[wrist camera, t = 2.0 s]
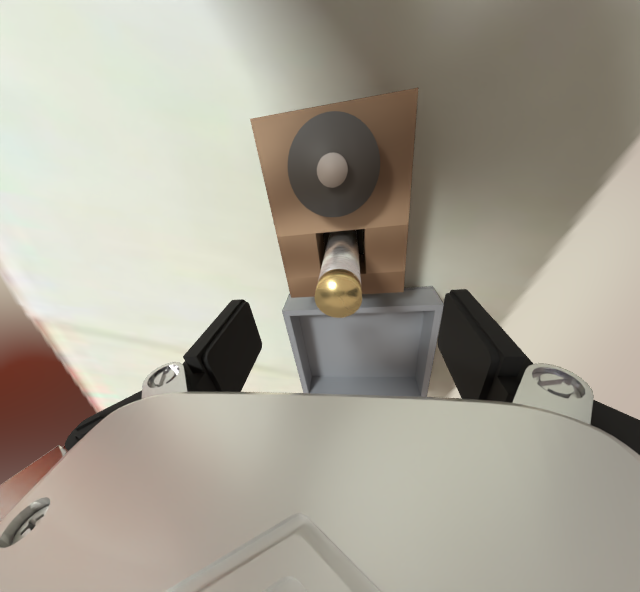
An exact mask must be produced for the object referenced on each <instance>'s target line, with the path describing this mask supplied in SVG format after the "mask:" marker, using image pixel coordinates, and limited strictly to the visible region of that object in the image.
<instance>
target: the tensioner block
mask: <svg viewBox="0 0 640 592" xmlns="http://www.w3.org/2000/svg"><path fill="white" fill-rule="evenodd" d="M417 99H418V88H414V89H408V90H403V91H398V92H392V93H387V94H382V95H376V96H371V97H365V98H360V99H355V100H349V101H344V102H339V103H333V104H328V105H323V106H317V107H312V108H307V109H301V110H296V111H290V112H285V113H280V114H274V115H269V116H264V117H258V118H253V119H250V120H251V125H252V129H253V133H254V138H255V142H256V147H257V151H258V155H259V160H260V164H261V168H262V173H263V177H264V181H265V186H266V190H267V195H268V199H269V203H270V208H271V212H272V216H273V221H274V225H275V229H276V234H277V238H278V243H279V247H280V251H281V256H282V260H283V264H284V269H285V273H286V277H287V282H288V286H289V291H290V295H291V298H298V297H315V291H316V287H317V283H318V279H319V275H320V271H321V267H322V263H323V259H324V255H325V244H324V235H323V233H324V232H334V231H345V230H355V229H363V253H364V254H359V265H360V277H361V289H362V294H378V293H398V292H404V279H405V265H406V251H407V237H408V223H409V209H410V196H411V182H412V168H413V154H414V140H415V127H416V113H417Z"/></svg>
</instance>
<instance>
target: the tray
mask: <svg viewBox="0 0 640 592" xmlns="http://www.w3.org/2000/svg"><path fill="white" fill-rule="evenodd" d="M443 305H444V304H443V302H442V301H441V299H440V297H439V296H438V294H437V293H436V291H435V289H434V288H433V286H432V287H413V288H404V292H398V293H378V294H362V303H361V306H360V308H359V309H358V310H357V311H356V312H355V313H354V314H352V315H350V316H347V317H343V318H335V317H331V316H328V315H326V314H324V313H323V312H321V311H320V310H319V308H318V307H317V305H316V303H315V297H298V298H291V295H290V294H289V296H288V298H287V301H286V303H285V305H284V308H283V310H282V313H283V316H284V320H285V324H286V328H287V332H288V335H289V339H290V343H291V347H292V351H293V354H294V358H295V362H296V366H297V370H298V373H299V377H300V381H301V385H302V389H303V392H304V393H310V394H346V395H379V396H410V397H427V392H428V387H429V381H430V376H431V370H432V365H433V360H434V354H435V349H436V343H437V338H438V333H439V327H440V322H441V316H442V311H443Z"/></svg>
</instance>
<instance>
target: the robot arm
mask: <svg viewBox="0 0 640 592" xmlns="http://www.w3.org/2000/svg"><path fill="white" fill-rule="evenodd" d="M438 347H439V350H440V352H441V354H442V356H443V358H444V361H445V363H446V365H447V367H448V369H449V371H450V374H451V376H452V378H453V380H454V382H455V385H456V387H457V389H458V391H459V393H460V395H461V398H462V399H459V398H436V397H410V396H379V395H346V394H310V393H268V392H241V390H242V388H243V386H244V384H245V382H246V380H247V377H248V375H249V373H250V371H251V369H252V367H253V365H254V363H255V361H256V359H257V357H258V355H259V353H260V351H261V348H262V342H261V339H260V335H259V332H258V329H257V326H256V323H255V320H254V317H253V314H252V311H251V308H250V305H249V303H248V302H246V301H245V300H232V301H231V302H230V303H229V304H228V305H227V306H226V308H225V309H224V310H223V311H222V312H221V313H220V315H219V316H218V317H217V318H216V319H215V320H214V321H213V323H212V324H211V325H210V326H209V327H208V328H207V330H206V331H205V332H204V333H203V334H202V335H201V337H200V338H199V339H198V340H197V341H196V342H195V343H194V345H193V346H192V347H191V348H190V349H189V350H188V352H187V353H186V354H185V355H184V356H183V358H184V359H185V362H184V363H183V364H181V363H179V362H172V363H168V364H165V365H162V366H161V367H159V368H157V369H155V370H154V371H153V372H151V373H150V374H149V375H148V376H147V377H146V379H145V380H144V382H143V386H142V391H140V392H138V393H136V394H134V395H132V396H130V397H128V398H126V399H124V400H122V401H120V402H118V403H116V404H114V405H112V406H110V407H108V408H106V409H104V410H103V411H101V412H99V413H97V414H95V415H93V416H91V417H89V418H87V419H86V420H84V421H83V422H81V423H80V424H79V425H78V426H77V427H76V428H75V429H74V430H73V431H72V433H71V434H70V435H69V436H68V438H67V440H66V443H65V446H64V447H60V446H59V445H58V446H57V447H55V448H54V449H52V450H51V451H49V452H48V453H46V454H45V455H44V456H42V457H41V458H39V459H38V460H36V461H35V462H33V463H32V464H31V465H29V466H28V467H26V468H25V469H23V470H22V471H20V472H19V473H17V474H16V475H14V476H13V477H11V478H10V479H8V480H7V481H6V482H4V483H3V484H1V485H0V592H640V420H638V419H636V418H633V417H631V416H629V415H627V414H624V413H622V412H620V411H618V410H615V409H613V408H611V407H608V406H606V405H604V404H602V403H600V402H597V401H595V400H593V398H594V396H593V391H592V389H591V388H590V386H589V385H588V384H587V383H586V382H585V381H584V380H582V379H581V378H580V377H579V376H577V375H575V374H574V373H572V372H570V371H568V370H566V369H563V368H561V367H557V366H554V365H550V364H533V363H532V362H531V361H530V359H529V358H528V357H527V356H526V355H525V354H524V353H523V352H522V350H521V349H520V348H519V347H518V346H517V345H516V344H515V343H514V342H513V340H512V339H511V338H510V337H509V336H508V335H507V334H506V333H505V331H504V330H503V329H502V328H501V327H500V326H499V324H498V323H497V322H496V321H495V320H494V319H493V318H492V317H491V316H490V315H489V314H488V313H487V312H486V310H485V309H484V308H483V307H482V306H481V305H480V304H479V303H478V301H477V300H476V299H475V298H474V297H473V296H472V295H471V293H470V292H469V291H468V290H467V289H461V290H451V291H450V293H447V294H446V295H445V300H444V306H443V312H442V318H441V324H440V329H439V335H438Z"/></svg>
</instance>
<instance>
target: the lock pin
mask: <svg viewBox="0 0 640 592" xmlns="http://www.w3.org/2000/svg"><path fill="white" fill-rule="evenodd" d="M315 303H316V305H317V307H318V308H319V310H320V311H321V312H323V313H324V314H326V315H328V316H331V317H335V318H343V317H347V316H350V315H352V314H354V313H355V312H356V311H357V310H358V309H359V308H360V306H361V303H362V289H361V277H360V265H359V253H358V241H357V232H356V230H345V231H334V232H330V235H329V239H328V243H327V247H326V251H325V255H324V259H323V263H322V267H321V271H320V275H319V279H318V283H317V287H316V291H315Z"/></svg>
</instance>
